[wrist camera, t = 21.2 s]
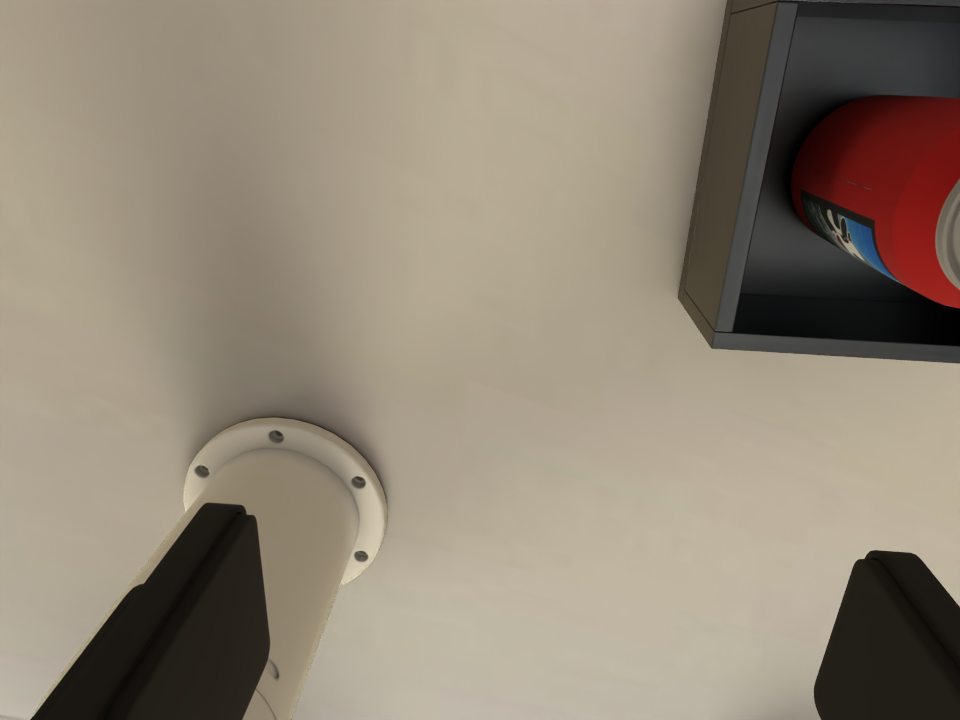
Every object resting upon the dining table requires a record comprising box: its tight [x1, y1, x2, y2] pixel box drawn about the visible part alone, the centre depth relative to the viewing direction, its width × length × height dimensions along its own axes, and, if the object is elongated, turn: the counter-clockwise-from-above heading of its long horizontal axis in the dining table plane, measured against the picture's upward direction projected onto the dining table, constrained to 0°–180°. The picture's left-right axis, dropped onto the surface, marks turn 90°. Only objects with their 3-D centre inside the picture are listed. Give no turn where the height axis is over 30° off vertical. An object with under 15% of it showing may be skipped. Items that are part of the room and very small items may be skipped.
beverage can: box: [791, 95, 960, 308], centre depth 26 cm, size 7×7×12 cm
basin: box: [678, 0, 960, 363], centre depth 29 cm, size 14×14×7 cm
